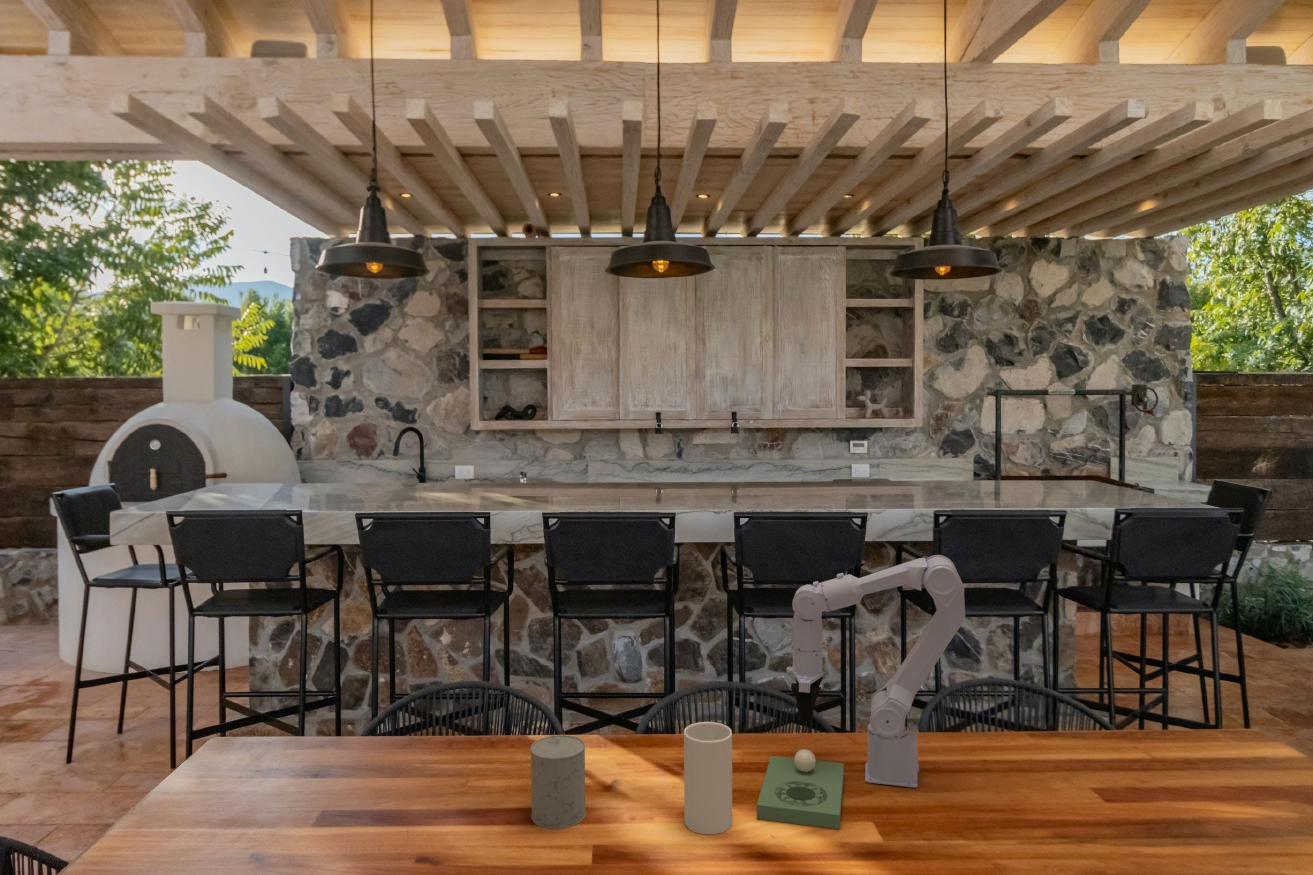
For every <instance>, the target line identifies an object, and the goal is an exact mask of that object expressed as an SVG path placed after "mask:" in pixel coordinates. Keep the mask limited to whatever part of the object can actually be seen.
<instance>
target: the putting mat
mask: <svg viewBox="0 0 1313 875" xmlns="http://www.w3.org/2000/svg"><path fill="white" fill-rule="evenodd" d="M844 775H845V763H841V762H834V761H823V760H816V764H815V767H814V768H813V769H812V770H811V771H809V772H802V771H800V770H799V769H798V768H797V767H796V765H795V762H794V757H784V756H776V755H770V758H769V763H768V764H767V769H766V772H765V776H764V779H763V782H762V785H761V790H760V793H759V796H758V799H757V803H756V819H757V820H762V821H771V822H778V823H784V824H785V823H787V824H792V825H793V824H794V825H802V826H809V827H810V826H811V827H816V828H817V827H818V828H825V829H834V830H840V827H841V826H840V825H841V814H842V813H841V812H842V804H843V803H842V802H843V789H844V780H845V779H844V778H845V776H844Z"/></svg>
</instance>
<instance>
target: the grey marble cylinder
mask: <svg viewBox="0 0 1313 875" xmlns="http://www.w3.org/2000/svg"><path fill="white" fill-rule="evenodd" d="M585 743H586V742H584V740H582V739H581V738H580V737H579V738H578V737H576V736H572V735H566V734H565V735H564V734H561V735H559V734H557V735H550V736H545V737H541V738H539V739H537V740H535V741H534V742H532V744H531V746H530V772H531V775H530V781H531V782H530V783H531V784H530V785H531V815H530V817H531V821H532V822H533V823H534V824H535V825H536V826H539V827H540V828H542V829H543V828H544V829H550V830H560V829H567V828H571V827H573V826H576V825H578V824H580V823H581V822H582V821H584V819H585V818H586V814H587V810H586V755H585V754H586V752H585V751H586V749H585V748H586V744H585Z"/></svg>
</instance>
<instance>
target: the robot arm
mask: <svg viewBox="0 0 1313 875" xmlns="http://www.w3.org/2000/svg"><path fill="white" fill-rule="evenodd" d="M922 585H923V586H924V588H925V589H926V591H927V593H928V594H929V595H930V596H931V598H932V599H933V602H934V605H935V606H934V607H935V610H936V611H935V613H934V614H933V616H932V617H931V618H930V620H929V622H928V623H927V625H926V627H925V628H924V629H923V631H922V633H921V634H920V636H919V637H918V638H917V640H916V642H915V643H914V645H913V646H912V647H911V650H910V651H909V652H908V654H907V656H906V658H905V659H904V660H903V662H902V663H901V664H900V666H899V668H898V669H897V671H896V673H895V674H894V675H893V677H891V678H890V679H888V680H887V681H886V683H885V685H883V687H882V688H879V689H878V690H876V691H875V692H874V693H873V694H872V696H871V698H870V701H869V702H870V703H869V704H870V715H869V716H870V717H869V723H868V725H867V762H865V764H864V766H865V767H864V768H865V769H864V770H865V771H864V772H865V774H864V779H865V780H864V782H866V783H870V784H879V785H888V786H894V787H896V786H898V787H905V788H906V787H907V788H914V789H916V788H918V787H919V785H918V773H920V764H919V758H918V757H919V754H918V753H919V751H918V750H919V749H918V748H919V743H918V741H919V740H918V733H916V732H913V731H909V730H908V729H907V726H906V718H907V715H908V714H909V711H910V710H911V708H912V705H913V702H914V699H915V696H916V694H917V693H918V692H919V690H920V688H921V687H922V685H923V683H924V682H925V681H926V679H927V677H928V676H929V675H930V673H931V672H932V670H933V669H934V667H935V666H936V665H937V663H938V661H939V660H940V658H941V656H942V655H943V653H944V652H945V650H946V648H947V647H948V646H949V644H950V642H951V641H952V639H953V638H954V636H956V634H957V632H958V631H959V629H960V628H961V626H962V624H963V623H964V621H965V619H966V605H965V604H966V603H965V586H964V584H963V580H962V579H961V577H960V575H959V573H958V571H957V567H956V565H955V563H954V562H953V561H952V560H951V559H950V558H948V557H947V556H944V555H942V554H934V555H931V556H929V557H927V558H926V557H920V558H916V559H913V560H909V561H906V562H904V563H901V564H897V565H894V566H891V567H888V568H886V569H883V570H879V571H877V572H874V573H871V574H868V575H865V576H862V577H857V576H854V575H852V574H851V573H849V574H844V573H843V572H841V573H837V574H836V577H834V578H833V579H828V580H824V581H821V582H819V581H818V580H816V581H813V583H812V585H811V584H805V585H802V586H800V587H799V588H798V589H797V590H795V594H794V596H793V599H792V601H791V602H792V603H791V604H792V610H793V625H792V666H787V668H786V673H787V674H791V675H792V676H793V678H794V680H795V682H791V685H790V688H791V692H792V694H793V695H794V698H795V700H796V701H795V702H796V704H797V711H798V715H799V720H800V721H804V722H812V719H813V716H814V711H815V706H816V700H817V698H818V696H819V695H820V693H821V689H822V687H821V686H820V685H821V683H822V682H823V678H824V670H823V649H824V648H823V645H824V644H823V642H824V640H823V639H824V638H823V632H824V631H823V630H824V627H823V626H824V625H823V624H822V617H823V615H822V614H823V612H825V613H827V612H828V613H829V612H833V611H836V610H839V609H843V608H847V607H850V606H853V605H858V604H860V603H861V602H862V599H863V597H864V596H865V595H868V594H872V593H877V592H881V591H885V590H889V589H895V588H898V587H902V586H906V587H910V588H912V589H914V590H918V591H922Z"/></svg>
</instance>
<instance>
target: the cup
mask: <svg viewBox="0 0 1313 875" xmlns="http://www.w3.org/2000/svg"><path fill="white" fill-rule="evenodd" d="M683 731H684V732H683V760H684V761H683V772H684V773H683V775H684V776H683V777H684V778H683V780H684V781H683V782H684V783H683V784H684V787H683V788H684V790H683V791H684V794H683V795H684V797H683V798H684V799H683V800H684V801H683V802H684V805H683V806H684V810H683V811H684V813H683V814H684V824H685V826H686V828H687V829H689V830H690V831H691V832H694V833H697V834H701V835H717V834H723V833H724V832H727V831H729V830H730V828H732V826H733V733H732V732H733V731H732V728H730V727H729V726H727V725H726V724H723V723H719V722H716V721H715V722H713V721H701V722H695V723H691V724H689V725H687V726H686V727H685V728H684V730H683Z"/></svg>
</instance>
